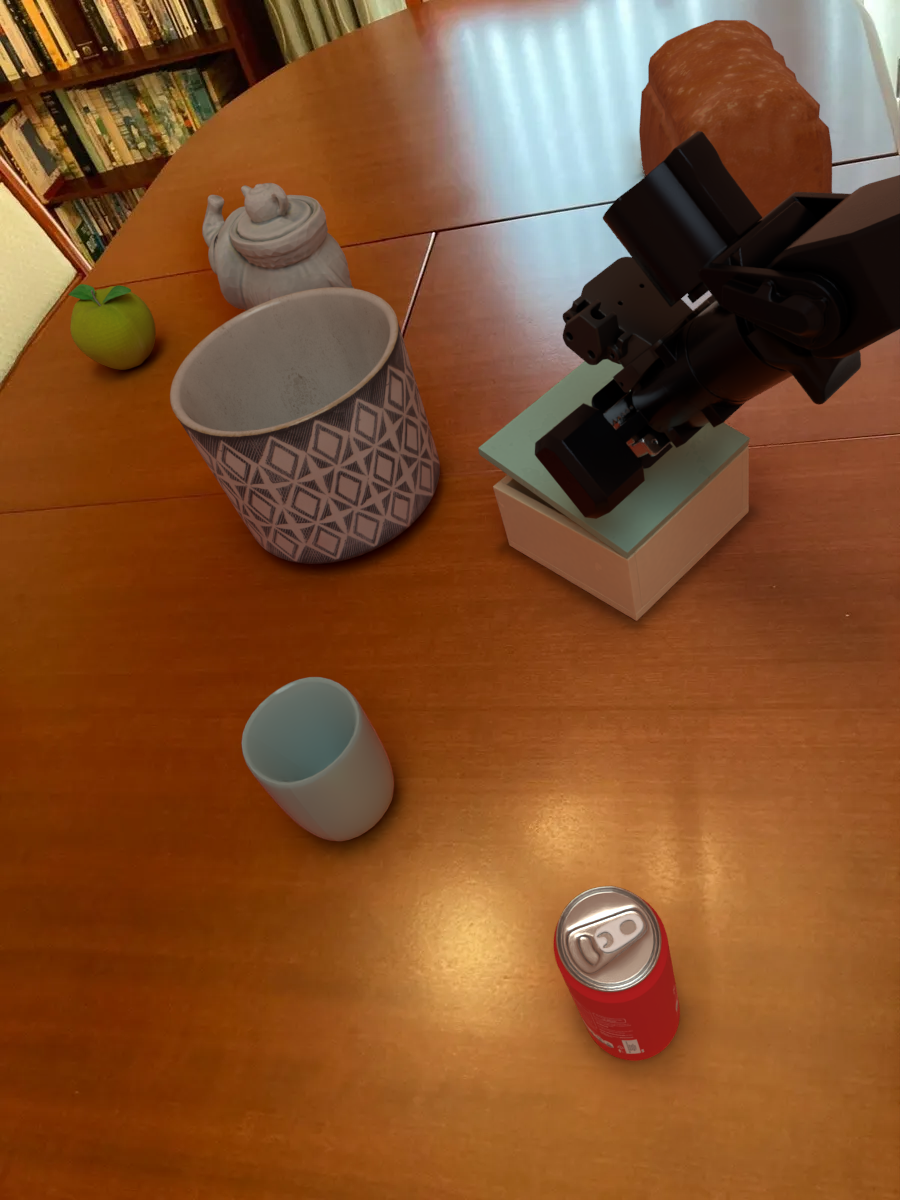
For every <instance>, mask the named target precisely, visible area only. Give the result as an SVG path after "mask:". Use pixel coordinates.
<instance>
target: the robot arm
mask: <svg viewBox="0 0 900 1200" xmlns="http://www.w3.org/2000/svg"><path fill="white" fill-rule="evenodd" d="M602 220H603V221H604V223H605V224H606V226H607V227H608V228H609V230H610V231H611V232H612V233H613V234H614V236H615V237H616V239H617V240H618V241H619V243H620V244H621V245H622V246H623V248H624V250H625V251H627V253H628V254H629V255H630V256H623V257H619V258H617V259H616V260H615V261H613V262H612V263H611V264H609V265H608V266H607V267H606V268H604V269H603V270H602V271H600V272H599V273H597V275H595V276H594V277H593V278H591V279H590V280H589V281H588V282H587V283H585V284H584V285H583V287H582V290H581V293H580V295H579V296H578V297H577V298H575V299H574V300H573V301H572V304H571V307H570V308H569V309H567V310H566V311H564V312H563V313H562V320H563V322H564V328H563V332H562V340H563V342H564V344H565V346H566V347H567V348H569V349H570V350H571V351H572V353H574V354H576V355H577V356H578V357H579V358H580V359H582V360H583V362H584V361H585V362H586V363H588V364H589V365H597V364H598V363H600V362H601V361H602V360H605V359H608V360H610V361H612V362H614V363H617V364H620V365H622V366H623V369H622V370H621V371H619V372H618V373H617V374H616V375H615V376H613V378H614V379H613V380H611V381H610V382H609V383H608V384H607V385H605V386H604V387H603V388H602V389H601V390H599V391H598V392H597V393H596V394H595V395H594V396H593V398H592V401H591V404H592V406H589V405H587V404H584V403H583V404H582V405H580V406H579V407H578V408H576V409H575V410H574V411H573V412H571V413H570V414H569V415H568V416H567V417H565V418H564V419H563V420H562V421H561V422H559V423H558V424H557V425H556V426H555V427H553V428H552V429H551V430H550V431H549V432H547V433H546V434H545V435H544V436H543V437H541V438H540V439H539V440H538V441H537V442H535V456H536V457H537V458H538V460H539V461H540V462H541V463H542V465H543V466H544V467H545V468H546V470H547V471H548V472H549V473H550V475H551V476H552V477H553V478H554V480H555V481H556V482H557V483H558V485H559V486H560V487H561V488H562V490H563V491H564V492H565V493H566V495H567V496H568V497H569V498H570V500H571V501H572V502H573V503H574V504H575V506H576V507H577V508H578V509H579V511H580V512H581V513H582V514H583V516H584V517H585V518H592V519H597V518H599V517H601V516H604V515H606V514H608V513H610V512H611V511H612V510H613V509H614V508H615V507H616V506H617V505H619V504H620V503H621V502H622V501H623V500H624V499H625V498H626V497H627V496H628V495H630V494H631V493H632V492H633V491H634V490H635V489H636V488H637V487H638V486H639V485H641V484H642V483H643V482H644V481H645V478H644V469H647V468H650V467H651V466H652V465H653V464H654V463H656V462H657V461H658V460H659V459H660V458H661V457H662V456H663V455H664V454H666V453H667V452H668V451H669V450H670V449H671V448H672V447H673V446H672V445H671V442H672V443H673V444H674V446H675V447H676V448H678V447H679V446H681V445H683V444H685V443H686V442H687V441H688V440H689V439H690V438H692V437H693V436H694V435H695V434H696V433H697V432H698V431H699V430H700V429H701V428H703V427H704V426H705V424H707V423H709V422H710V424H711V425H712V426H713V427H716V426H718V425H720V424H722V423H723V422H724V423H726V421H727V420H728V419H729V418H730V417H732V415H734V414H735V413H736V412H737V411H738V410H739V409H740V408H741V407H743V405H744V404H746V403H747V402H748V401H751V400H752V399H754V398H755V397H757V396H759V395H761V394H763V393H765V392H766V391H768V390H770V389H772V388H774V387H775V386H777V385H779V384H780V383H782V382H784V381H786V380H787V379H790V378H791V377H793V378H794V380H795V381H796V382H797V383H798V384H799V386H800V387H801V388H802V389H803V391H804V392H805V394H807V396H808V398H809V399H810V400H811V401H812V402H813V403H814V404H816V405H819V406H820V405H823V404H825V403H826V402H827V401H828V400H830V398H831V397H832V396H834V395H835V393H836V392H837V391H839V390H840V389H841V388H842V387H843V386H844V385H845V384H846V383H847V382H848V381H849V380H850V379H851V378H852V377H853V376H854V375H855V374H856V373H857V372H858V371H860V369H861V367H862V361H861V359H862V357H861V356H862V355H861V351H862V350H863V349H866V348H868V347H869V346H871V345H873V344H875V343H877V342H879V341H880V340H882V339H885V338H886V337H888V336H890V335H891V334H893V333H895V332H897V331H899V330H900V174H898V175H894V176H891V177H887V178H884V179H881V180H880V179H879V180H877V181H873V182H870V183H867V184H864V185H862V186H859V187H858V188H857V189H856V190H854V191H853V192H852V193H843V192H842V193H841V192H840V193H839V192H832V193H816V192H794V193H792V194H791V195H790V196H789V197H788V198H786V199H785V200H784V201H783V202H781V203H780V204H779V205H778V206H777V207H775V208H774V209H773V210H772V211H770V212H769V213H768V214H767V215H766V216H764V217H763V218H762V216H761V215H760V213H759V212H758V211H757V209H756V208H755V207H754V205H753V204H752V203H751V201H750V200H749V199H748V197H747V196H746V195H745V193H744V192H743V191H742V189H741V188H740V187H739V185H738V184H737V183H736V181H735V180H734V179H733V177H732V176H731V175H730V173H729V172H728V171H727V169H726V168H725V166H724V165H723V163H722V161H721V159H720V157H719V155H718V153H717V151H716V149H715V148H714V146H713V145H712V144H711V142H710V141H709V140H708V138H707V137H706V136H705V134H704V133H703V132H702V131H697V132H696V133H694V134H693V135H692V136H690V137H689V138H688V139H686V140H685V141H684V142H682V143H681V144H680V145H678V146H677V147H676V148H674V149H673V150H672V152H671V153H670V154H669V155H668V156H667V157H666V158H665V160H664V161H662V162H661V163H660V164H659V165H658V166H657V167H656V168H654V169H653V170H652V171H651V172H650V173H649V174H648V175H647V176H646V175H645V176H644V177H643V178H642V179H640V181H638V182H637V183H636V184H634V185H633V186H632V187H631V188H629V189H628V190H627V191H625V192H624V193H622V194H621V195H619V196H618V197H617V199H615V200H614V201H613V203H612V204H610V206H609V207H608V208H607V210H606V211H605V212H604V214H603V216H602ZM708 292H709V293H710V294H711V295H709V296H708V297H707V298H706V299H705V300H704V301H703V302H701V303H699V304H698V306H696V307H695V308H693V309H692V308H691V307H690V306H689V305H688V304H687V303H686V301H684V300H683V298H684V297H685V296H686V297H687V298H688V299H689V301H690V302H691V304H694V303H696V302H697V301H698V300H699V299H701V298H702V297H703V296H704V295H706V294H707V293H708Z"/></svg>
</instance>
